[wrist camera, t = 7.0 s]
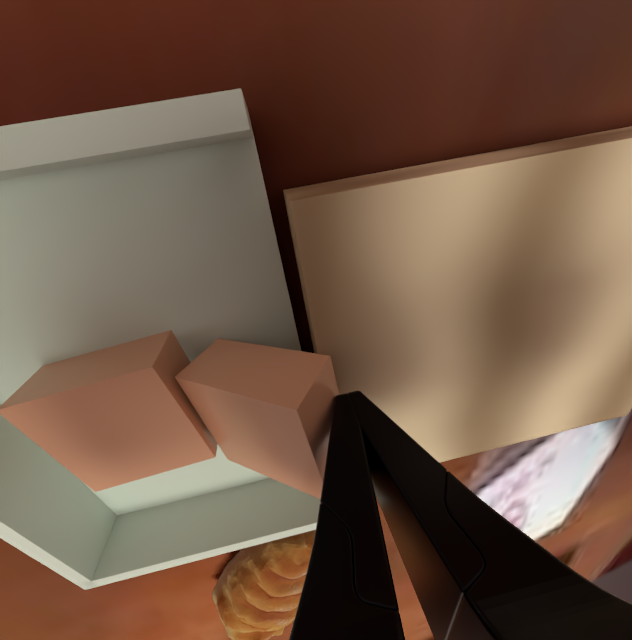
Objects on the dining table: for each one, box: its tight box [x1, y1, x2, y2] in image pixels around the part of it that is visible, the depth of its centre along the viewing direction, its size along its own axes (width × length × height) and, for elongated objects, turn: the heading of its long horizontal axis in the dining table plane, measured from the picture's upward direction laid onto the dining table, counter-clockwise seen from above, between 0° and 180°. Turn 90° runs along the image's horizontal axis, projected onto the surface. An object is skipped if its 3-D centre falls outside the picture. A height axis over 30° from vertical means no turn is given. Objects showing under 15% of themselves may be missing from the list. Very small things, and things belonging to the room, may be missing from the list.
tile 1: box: [175, 339, 339, 499], centre depth 10 cm, size 4×4×2 cm
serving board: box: [283, 126, 632, 462], centre depth 11 cm, size 14×12×2 cm
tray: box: [0, 88, 321, 590], centre depth 10 cm, size 12×16×3 cm
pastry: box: [212, 530, 316, 640], centre depth 19 cm, size 9×7×4 cm
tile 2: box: [0, 330, 217, 492], centre depth 10 cm, size 4×4×2 cm
